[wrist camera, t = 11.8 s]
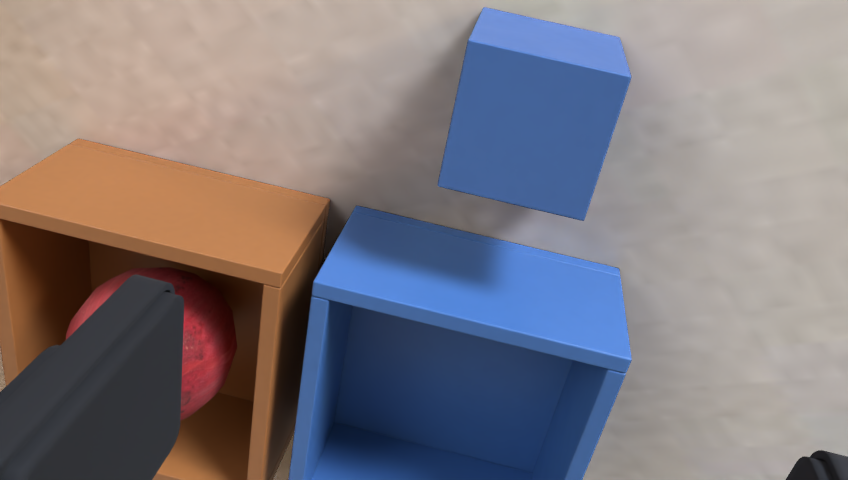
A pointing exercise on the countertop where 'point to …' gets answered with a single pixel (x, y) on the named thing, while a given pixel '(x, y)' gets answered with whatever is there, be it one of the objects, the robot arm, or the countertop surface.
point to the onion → (186, 331)
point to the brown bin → (178, 248)
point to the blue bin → (455, 357)
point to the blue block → (534, 113)
